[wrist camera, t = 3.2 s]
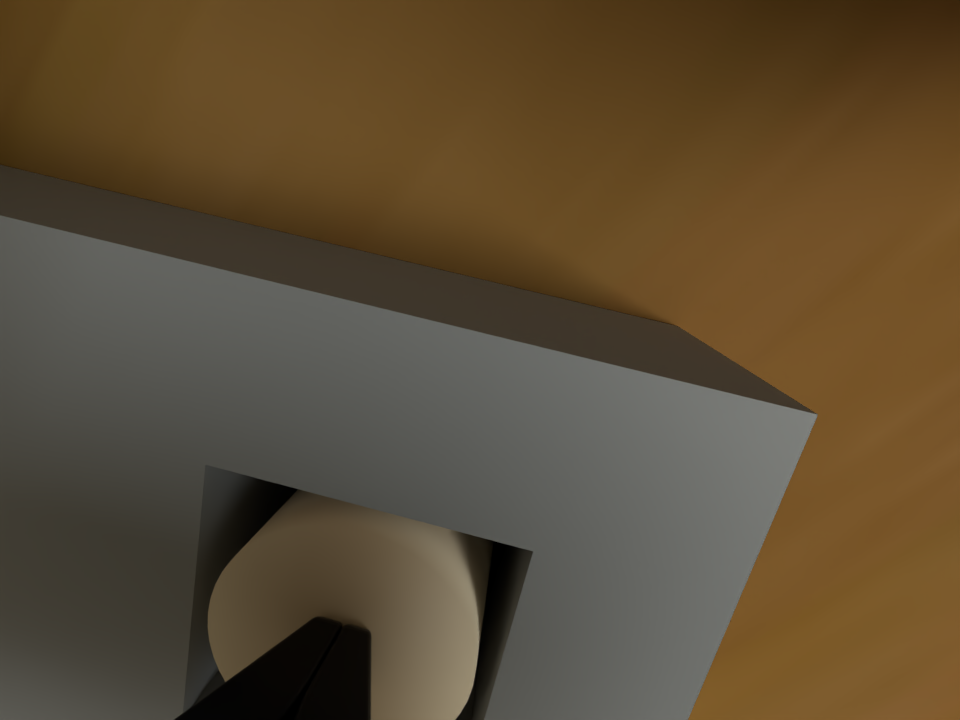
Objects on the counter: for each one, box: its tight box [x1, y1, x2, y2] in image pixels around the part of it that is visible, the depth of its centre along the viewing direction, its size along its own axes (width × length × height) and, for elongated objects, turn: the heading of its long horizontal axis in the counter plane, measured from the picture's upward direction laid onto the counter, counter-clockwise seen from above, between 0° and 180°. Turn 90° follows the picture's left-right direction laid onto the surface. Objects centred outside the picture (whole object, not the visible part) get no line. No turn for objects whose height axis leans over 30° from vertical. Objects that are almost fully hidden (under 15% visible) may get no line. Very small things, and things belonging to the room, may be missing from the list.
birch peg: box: [208, 489, 494, 720], centre depth 10 cm, size 4×4×6 cm
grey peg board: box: [0, 165, 818, 720], centre depth 11 cm, size 22×10×6 cm, turn 77°
